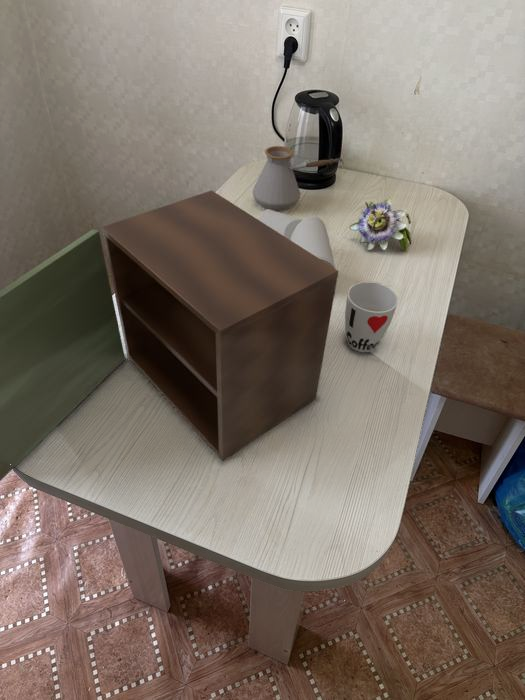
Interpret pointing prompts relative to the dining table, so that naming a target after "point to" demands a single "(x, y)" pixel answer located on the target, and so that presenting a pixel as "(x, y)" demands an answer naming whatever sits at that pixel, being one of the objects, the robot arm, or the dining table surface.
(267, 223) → the elbow connector
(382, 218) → the passion flower
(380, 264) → the dining table surface
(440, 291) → the dining table surface
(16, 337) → the cabinet door
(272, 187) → the coffee pot
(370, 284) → the cup
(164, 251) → the cabinet
